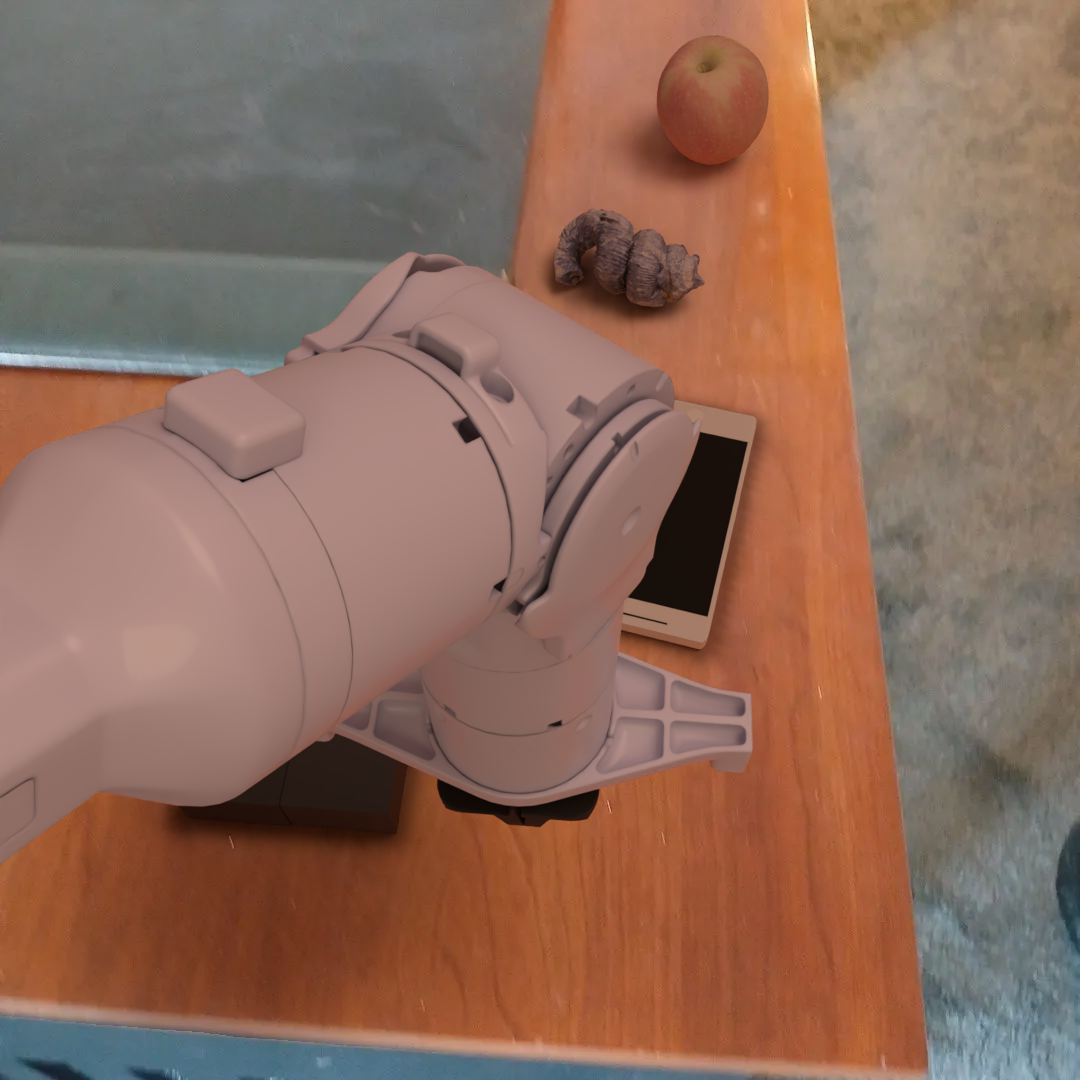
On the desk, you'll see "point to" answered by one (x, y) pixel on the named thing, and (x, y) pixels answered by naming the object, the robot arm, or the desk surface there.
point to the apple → (712, 99)
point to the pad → (343, 787)
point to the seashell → (626, 259)
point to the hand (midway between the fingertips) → (527, 800)
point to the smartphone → (694, 534)
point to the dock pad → (250, 803)
